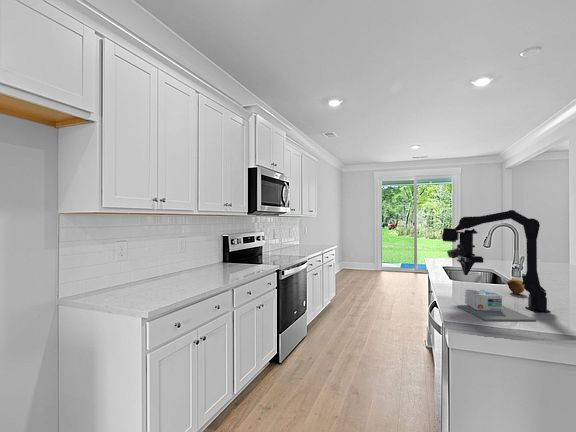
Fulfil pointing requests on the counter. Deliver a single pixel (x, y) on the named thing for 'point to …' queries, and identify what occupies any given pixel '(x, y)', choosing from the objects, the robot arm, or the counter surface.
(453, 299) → the counter surface
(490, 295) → the light bulb box
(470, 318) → the counter surface
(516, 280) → the fruit
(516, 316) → the slate mat
